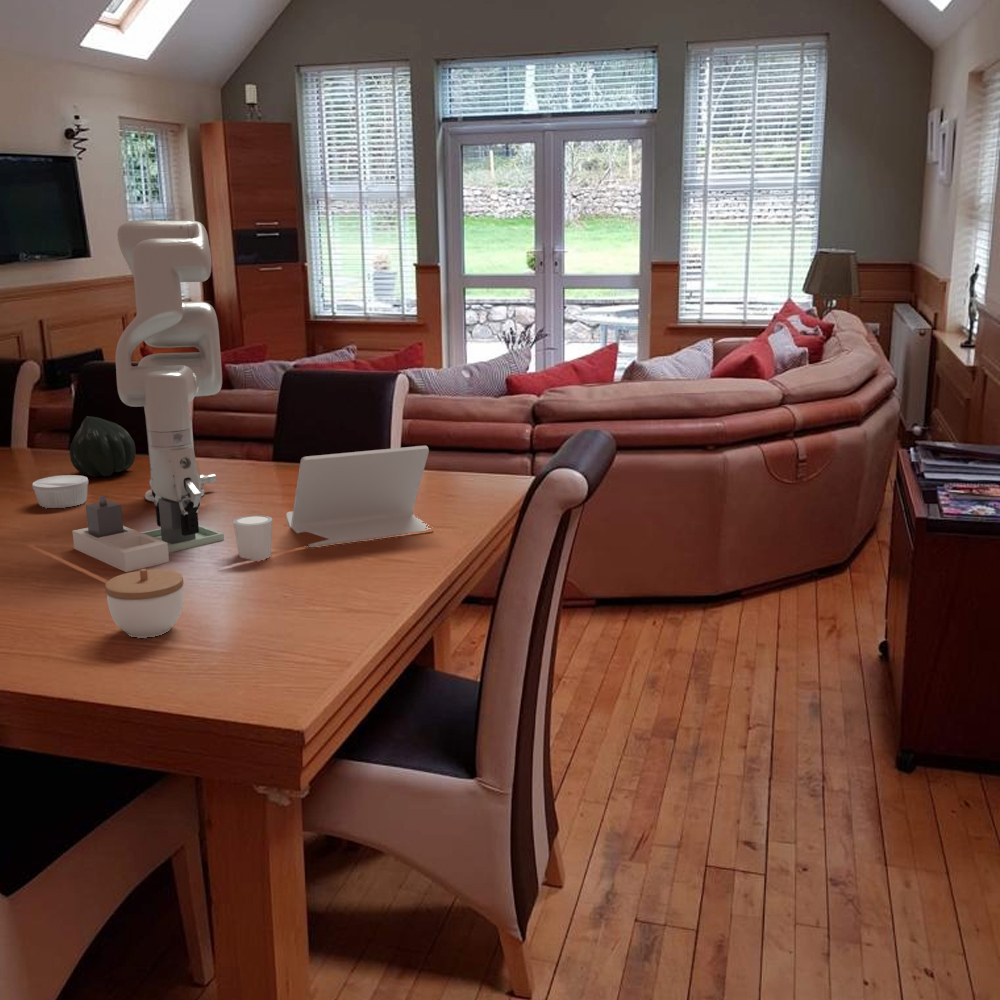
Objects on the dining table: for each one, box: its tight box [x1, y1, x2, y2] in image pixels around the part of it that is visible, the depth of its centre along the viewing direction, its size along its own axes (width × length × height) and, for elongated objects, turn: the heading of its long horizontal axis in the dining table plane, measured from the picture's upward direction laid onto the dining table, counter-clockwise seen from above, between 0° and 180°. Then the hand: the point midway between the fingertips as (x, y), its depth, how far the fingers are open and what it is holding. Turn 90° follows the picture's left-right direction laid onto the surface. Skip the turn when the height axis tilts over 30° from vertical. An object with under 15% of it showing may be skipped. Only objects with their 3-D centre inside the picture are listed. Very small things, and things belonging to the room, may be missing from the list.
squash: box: [69, 415, 136, 478], centre depth 254 cm, size 14×15×15 cm
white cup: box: [232, 514, 273, 562], centre depth 187 cm, size 7×7×7 cm
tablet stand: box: [285, 445, 431, 547], centre depth 204 cm, size 18×25×17 cm
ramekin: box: [32, 474, 89, 509], centre depth 226 cm, size 11×11×5 cm
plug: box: [158, 496, 196, 544], centre depth 195 cm, size 4×4×10 cm
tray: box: [141, 524, 225, 554], centre depth 196 cm, size 12×12×2 cm
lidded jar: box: [104, 568, 184, 639], centre depth 151 cm, size 11×11×9 cm
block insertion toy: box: [72, 494, 170, 573], centre depth 186 cm, size 8×20×11 cm, turn 46°
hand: (177, 529), depth 196 cm, fingers open, 8 cm apart
